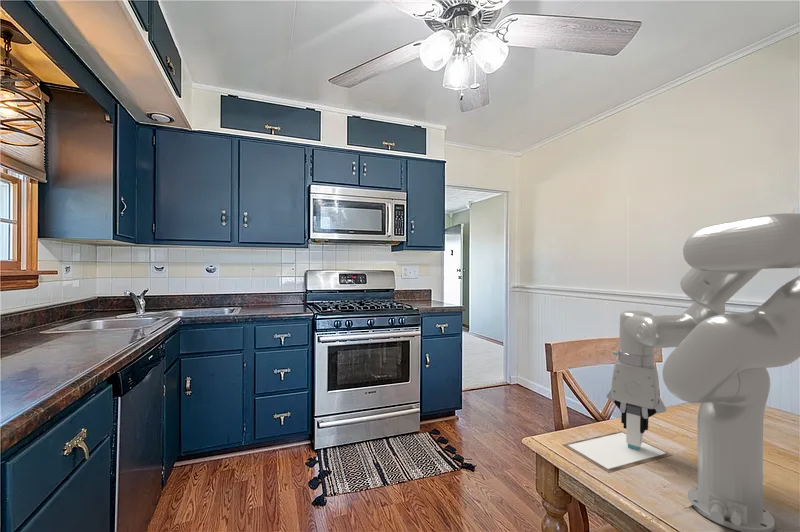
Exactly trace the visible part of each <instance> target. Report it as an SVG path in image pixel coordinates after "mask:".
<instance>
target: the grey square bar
mask: <svg viewBox="0 0 800 532" xmlns="http://www.w3.org/2000/svg"><path fill="white" fill-rule="evenodd" d="M641 417H642V407H640V406H636V405H632V404H627V417H626V430H625V431H626V432H625V433H626V443H628V448H631V449H634V450H638V451H639V449H640V448H641V444H642V441H643V434H642V433H640V418H641Z"/></svg>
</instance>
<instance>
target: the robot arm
mask: <svg viewBox="0 0 800 532" xmlns="http://www.w3.org/2000/svg"><path fill="white" fill-rule="evenodd" d="M682 249H683V250H682V255H683V259H684V260H685V262H686V264H687V265H688V266H690V267H691V268H690V269H689V270H688V271H687V272H686V274H684V275H683V276H682V277H681V280H680V288H681V291H682V292H683V293H684V294H685V295H686V296H687V297H688V298H689V299H690V300H692V301H693V303H692V304H691V305H689V307H688V308H687V309H686V310H685V311H684V312H683V313H681V314H669V315H667V314H666V315H665V314H664V315H653V314H652V313H650V312H648V311H642V310H625V311H624V310H623V311H622V312H621V313H620V316H619V343H618V346H619V347H618V350H617V351H616V350H613V352H612V356H613V357H616V358H617V360H615V362H614V367H613V371H612V378H611V389H610V390H609V391H608V393H607V395H606V398H607V399H608V400H609V401H610V402H612V403H614V405H615V406H616V407H617V408H618V410H619V412H620V413H621V414H620V415H621V418H620V419H621V421H620V423H621V424H623V429H626V417H627V404H632V405H636V406H640V407H642V417H641V418H640V433H642V435H643V434H644V433H645V432H646V431H648V430H649V418H650V417H652V416H654V415H656V414H661V413H662V414H663V413H666V411H667V407H666V406H665V404H664V402H663V400H662V398H661V393H660V392H661V391H660V380H659V379H660V378H659V372H658V367H657V366H655V365H654V361H655V360H654V359H655V355H654V354H655V349H663V348H664V349H669V348H674V350H672V352H671V353H670V354H669V355H668V357H666V360H665V361H664V364H663V367H662V380H663V383H664V385H665V386H666V389H667V390H668V391H669V392H670V393H671V394H672V395H673V396H674V397H676V398H678V399H680V400H681V401H684V402H687V403H691V404H700V405H699V408H698V412H697V429H696V430H697V439H696V441H697V442H696V443H697V448H696V450H697V454H696V455H697V467H696V469H697V486H695V487H692V488H690V489H689V490H688V491H687V498H688V500H689V502H690V503H691V507H692V508H693V509H695V511H697V513H699V514H700V515H702V516H704V517H706V518H707V519H709V520H710V521H712V522H715V524H718V525H721V526H723V527H726V528H727V529H730V530H735V531H737V532H773V531H774V530H775V529H776V521H775V519H774V517H773V515H772V514H771V513H770V512H769V511H768V510H767V509H765V508H764V459H763V458H764V420H765V419H764V418H765V409H766V405H767V401H768V398H769V394H770V391H771V390H770V389H771V378H770V374H769V371H768V368H778V367H779V368H780V367H784V366H787V365H790V364H792V363H794V362H795V361H797V360H798V359H799V358H800V275H798V276H797V277H795V278H793V279H791V280H790V281H788V282H785V284H783V285H781V286H780V287H779V288H777V290H776V291H775V292H774V293H773V294H772V295H771V296H770V297H769V298H768V299H767V300H766V301H764V302H763V304H761V305H760V306H758V307H757V308H755V309H754V310H750V311H747V312H733V313H730V312H729V313H725V312H726V303H727V302H728V301H729V300H730V299H731V298H732V297H733V296H734V295H735V294H736V293H738V292H739V291H740V290H741V289H742V288H743V287H744V286H745V285H746V284H748V282H750V281H751V280H752V279H753V278H754V277H755V276H756V275H757V274H758V273H760V271H762V270H764V269H765V270H768V269H769V270H770V269H772V270H773V269H775V270H776V269H800V213H789V212H788V213H785V212H784V213H772V214H765V215H760V216H754V217H750V218H743V219H738V220H734V221H727V222H722V223H717V224H710V225H706V226H703V227H700V228H699V229H696V230H695V231H694V232H693V233H691V234H690V235H689V236H688V237H687V239H686V241H685V242H684V245H683V248H682Z"/></svg>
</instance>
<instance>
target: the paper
mask: <svg viewBox="0 0 800 532" xmlns="http://www.w3.org/2000/svg"><path fill="white" fill-rule="evenodd" d="M624 433H625V432H624ZM624 433H618V434H614V435H609V436H605V437H601V438H596V439H592V440H587V441H583V442H579V443H574V444H570V445H568V446H569V447H571V448H572V449H574V450H576V451H577V452H579V453H581V454H582V455H584V456H586V457H587V458H589V459H591V460H593V461H594V462H596V463H598V464H599V465H601V466H603V467H604V468H606V469H608V470H609V469H612V468H616V467H620V466H623V465H627V464H631V463H634V462H638V461H642V460H645V459H649V458H652V457H656V456H660V455H663V454H666V453H665V452H663V451H664V450H663V451H661V450H662V449H661V450H659V449H660V448H659V449H657V448H658V447H657V448H654V447H652V446H650V445H651V444H650V445H648V444H649V443H648V444H646V443H647V442H646V443H644V442H645V441H644V442H642V444H641V448H640V449H639V451H638V450H634V449H631V448H628V443H626V434H624Z"/></svg>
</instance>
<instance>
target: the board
mask: <svg viewBox="0 0 800 532" xmlns="http://www.w3.org/2000/svg"><path fill="white" fill-rule="evenodd" d="M618 433H624V434H626V432H624V431H622V430H621V431H617V432H611V433H608V434H603V435H599V436H595V437H590V438H586V439H581V440H577V441H572V442H568V443H564V444H562V446H563V447H564V448H566V449H568V450H569V451H571V452H573V453H575V455H578V456H579V457H581V458H583V459H584V460H586V461H588V462H590V463H591V464H593V465H594V466H596V467H598V468H600V469H601V470H603V471H604V472H607V473H608V474H610V473H614V472H617V471H621V470H625V469H629V468H632V467H636V466H639V465H642V464H647V463H649V462H653V461H656V460H660V459H664V458H668V457H672V456H673V454H672V453H670V452H668V451H665V450H664V449H661V448H659V447H657V446H655V445H652V444H650V443H648V442H646V441H645V440H642V442H644V443H646V444H648V445H650V446H652V447H654V448H657V449H659V450H661V451H663V452H665V453H666V454H663V455H660V456H656V457H652V458H649V459H645V460H642V461H638V462H634V463H631V464H627V465H623V466H620V467H616V468H612V469H609V470H608V469H606V468H604V467H603V466H601V465H599V464H598V463H596V462H594V461H593V460H591V459H589V458H587V457H586V456H584V455H582V454H581V453H579V452H577V451H576V450H574V449H572V448H571V447H569V446H568V445H570V444H574V443H579V442H583V441H587V440H592V439H596V438H601V437H605V436H609V435H614V434H618Z"/></svg>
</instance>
